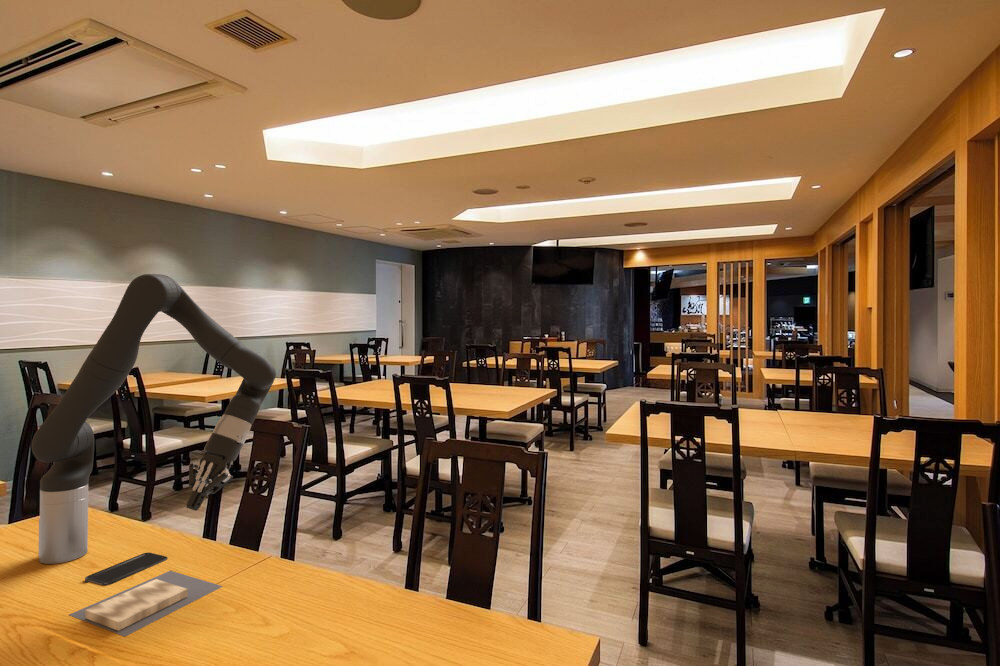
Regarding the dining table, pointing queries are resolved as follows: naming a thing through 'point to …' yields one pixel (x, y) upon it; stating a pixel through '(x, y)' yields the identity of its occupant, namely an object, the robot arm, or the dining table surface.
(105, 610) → the placard
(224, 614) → the dining table surface
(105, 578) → the phone
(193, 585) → the mat
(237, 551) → the dining table surface
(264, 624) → the dining table surface
